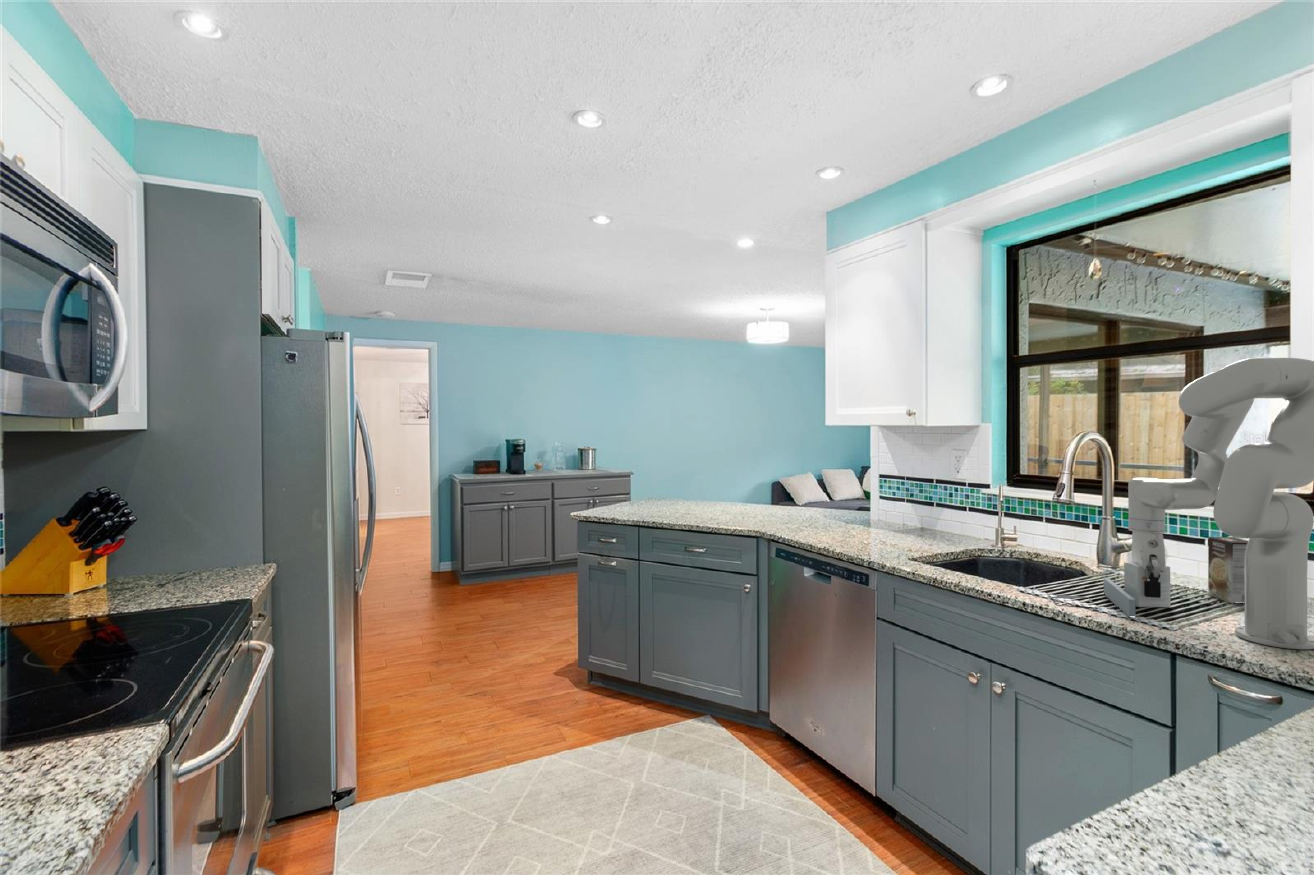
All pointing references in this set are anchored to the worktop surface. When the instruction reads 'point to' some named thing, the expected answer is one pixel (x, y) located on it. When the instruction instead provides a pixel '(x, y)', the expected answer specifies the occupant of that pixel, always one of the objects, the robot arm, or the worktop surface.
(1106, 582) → the low wall
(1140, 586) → the small box
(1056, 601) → the mat
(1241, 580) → the coffee box
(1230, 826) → the worktop surface
